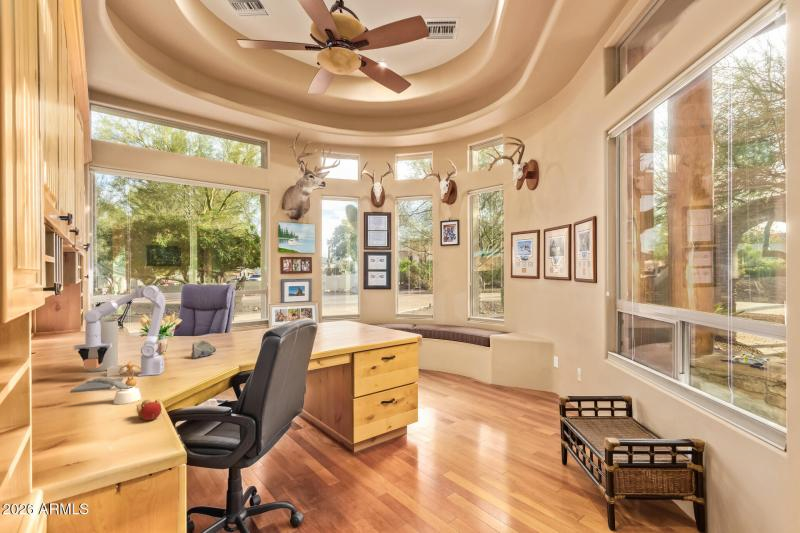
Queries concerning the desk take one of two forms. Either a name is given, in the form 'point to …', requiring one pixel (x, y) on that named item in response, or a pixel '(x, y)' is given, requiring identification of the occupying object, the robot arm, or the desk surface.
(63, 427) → the desk surface
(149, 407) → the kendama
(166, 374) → the desk surface
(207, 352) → the mineral rock
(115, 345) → the cylinder vase
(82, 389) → the baseplate
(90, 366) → the terracotta brick
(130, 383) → the figurine
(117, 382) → the inkwell
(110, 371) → the cream brick
